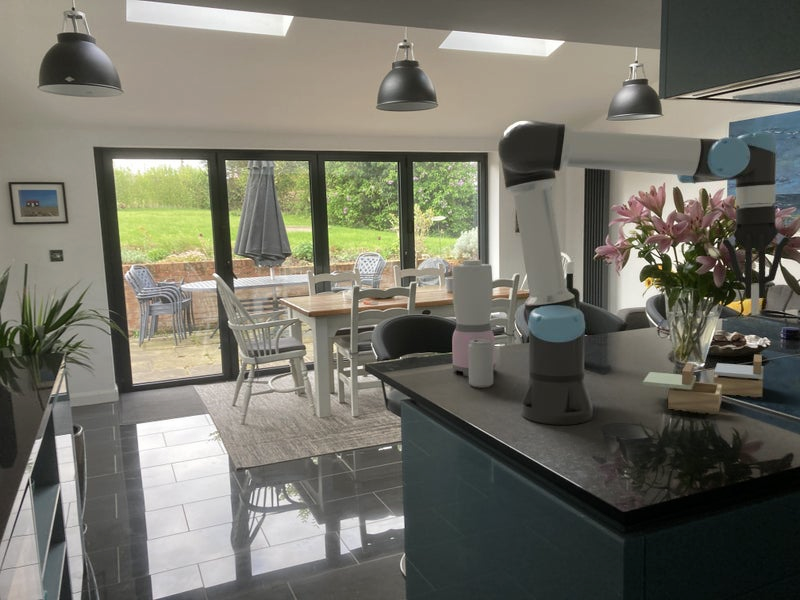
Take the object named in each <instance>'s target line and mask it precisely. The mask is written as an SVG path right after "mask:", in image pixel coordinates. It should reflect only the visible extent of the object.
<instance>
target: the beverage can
mask: <svg viewBox="0 0 800 600" xmlns="http://www.w3.org/2000/svg"><path fill="white" fill-rule="evenodd" d="M468 356H469V376H468V384H470V385H471V386H472V387H474V388H480V389H483V388H484V389H485V388H491V386H492V385H493V384H494V369H493V345H492V343H491V340H488V339H473V340H470V344H469V345H468Z"/></svg>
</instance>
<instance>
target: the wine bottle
mask: <svg viewBox="0 0 800 600" xmlns="http://www.w3.org/2000/svg"><path fill="white" fill-rule="evenodd" d="M565 274H566V276H565V283H566V289H567V290H568V291H569V292H570V293H572V294H573V295H574V297H575V303H576V308H577V309H579V310H580V311H581V309H580V308H581V306H580V303H581V302H580V299H581V298H580V297H581V294H580V291H579V289H577V288H576V287H574V262H573V261H566V263H565Z"/></svg>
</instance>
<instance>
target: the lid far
mask: <svg viewBox="0 0 800 600" xmlns="http://www.w3.org/2000/svg"><path fill="white" fill-rule="evenodd" d="M762 356H763V354H757V353H755V354H754V355H753V362H752V363H753V364H752V365H747V364H734V363H721V362H720V363H719V362H716V366H715V368H714V373H713V375H714V376H715V375H720V376H732V377H744V378H756V379H763V380H764V366H762V359H763V357H762Z"/></svg>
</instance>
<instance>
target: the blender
mask: <svg viewBox="0 0 800 600" xmlns="http://www.w3.org/2000/svg"><path fill="white" fill-rule="evenodd" d="M492 269H493V268H492V265H491V264H490V263H482V260H481V259H464V260H463V261H462V263H461V264H455V265H453V266H452V282H451V283H452V284H451V285H452V302H453V310H454V315H455V321H456V326H455V329H454V331H453V333H452V339H451V340H452V341H451V342H452V346H451V347H452V348H451V349H452V369H453V370H455V371H457V372H458V371H459V372H462V373H463V374H462V375H463V377H469V356H468V345H469V344H470V340H473V339H488V340H491V343H492V345H493V370H495V368H496V348H495V347H496V343H495V342H496V341H495V339H496V338H495V334H494V332H493V330H492V327H491V315H492V308H493V300H494V297H493V295H494V288H493V287H494V282H493V271H492Z"/></svg>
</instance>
